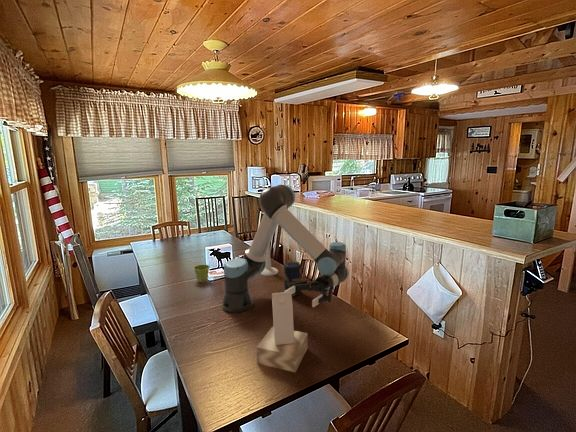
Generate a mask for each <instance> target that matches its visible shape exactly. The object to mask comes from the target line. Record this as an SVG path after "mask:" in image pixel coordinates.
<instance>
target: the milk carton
mask: <svg viewBox="0 0 576 432" xmlns="http://www.w3.org/2000/svg"><path fill="white" fill-rule="evenodd" d="M271 301H272V302H271V303H272V305H271V306H272V318H273V319H272V320H273V322H272V324H273V327H274V339H275V345H282V344H292V343H294V331H295V330H294V329H295V328H294V327H295V326H294V307H293V296H291V292H284V291H283V292H273V293H271Z"/></svg>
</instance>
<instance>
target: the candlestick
mask: <svg viewBox="0 0 576 432" xmlns="http://www.w3.org/2000/svg"><path fill="white" fill-rule="evenodd" d="M270 245H271V244H269V246H268V248H267V251H266V253H265V256H266V260H265V262H266V266H265V269H264V270H263V271H262V273H261V274H260V275H261V276H265V277H266V276H267V277H269V276H270V277H271V276H276V275H277V274H278V273H279V270H278V269H277V268H275V267H272V261H271V259H272V258H271V247H270Z"/></svg>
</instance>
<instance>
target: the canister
mask: <svg viewBox="0 0 576 432" xmlns="http://www.w3.org/2000/svg"><path fill="white" fill-rule="evenodd" d="M283 271H284V272H283V273H284V274H283V275H284V276H283V277H284V278H283V280H284V283H283V284H284V285H283V286H284V291H285V290H287V289H288V288H290V283H295V282H300V281H302V280H303V279H302V264H301V263H300V262H297V261H290V262H289V261H288V262H286V263H284V265H283ZM284 291H283V292H284ZM301 293H302V290H301V291H295V293H293V294H291V296H292V297H294V296H299V295H300V294H301Z"/></svg>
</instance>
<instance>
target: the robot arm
mask: <svg viewBox="0 0 576 432" xmlns="http://www.w3.org/2000/svg"><path fill="white" fill-rule="evenodd" d="M258 200H259V201H258V203H259V206H260V208H261V210H262V211H263V215H262V217H261V220H260V223H259V225H258V227H257V230H256V232H255V234H254V237H253V240H252V242H251V244H250V247H249V248H247V249H245V252H244V254H243V256H242V257H237V258H236V257H235V258H232V259H230V260H228V261H227V262H225V263H224V266H223V267H224V269H223V276H224V291H225V292H224V295H223V299H222V303H221V304H222V310H224V311H225V312H228V313H233V314H234V313H235V314H239V313H242V312H243V313H244V312H246V311H249V310H250V309H251V308H253V299H252V296H251V294H250V291H249V281H251V280H252V279H254V278H255V277H257V276H259V275H261V273H262V271H263V270H264V269H265V267H266V251H267V248H268V246H269V245H271V240H272V238H273V237H274V234H275V232H276V230H277V228H278V225H279V226H280V228H281V229H282V230H284V231H285V233H286V234H287V235H288V236H289V237H291V239H293V241H295V243H296V244H298V246H299V247H300V248H302V250H303V251H304V252H305V253H306V254H307V256H308V255H309V257H310V258H311V259H312V260H313V261H314V263H316V268H317V271H318V272H319V273H320V275H319V276H317V277H316V278H315V280H314V281H310V279H309V278H307V279H305V280H301V281H300V282H295V283H290V288H288V289H287V290H285V289H284V290H285V291H283V292H291V294H293V293H295V291H301V292H302V291H310V292H311V291H314V292H316V293H320V294H319V295H318V296H317V297H315V298H314V299H312V300H311V307H312V308H315V307H317V306H318V305H319V304H322V303H324V302H327V301H328V303H331V302H332V297H333V294H334V293H335V287H336V286H338V285H340V284H341V283H343V282H345V281H346V280H347V279H348V278H349V276H350V270H349V269H348V267H346V264H347V263H346V259H347V246H346V245H347V244H345V243H344V242H339V241H333V242H331V243H330V244H329V250H328V249H327V247H325V246H324V245H323V243H322V242H321V241H320V240H319V239H317V238H316V236H314V235H313V234H312V233H311V231H310V230H309V229H308V228H307V227H306V226H305V225H303V223H302V222H301V221H300V220H299V219H298V218H297V217H296V216H295V215H294V214H293V213H292V212H291V211H290V210H289V208H291V207H292V206H293V205H294V203H295V201H296V194H295V191H294V190H293V188H292V187H291V186H289V185H287V184H278V185H275V186H269V187H266V188H264V189H263V190H261V193H260V194H259V199H258ZM327 293H328V294H327Z"/></svg>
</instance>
